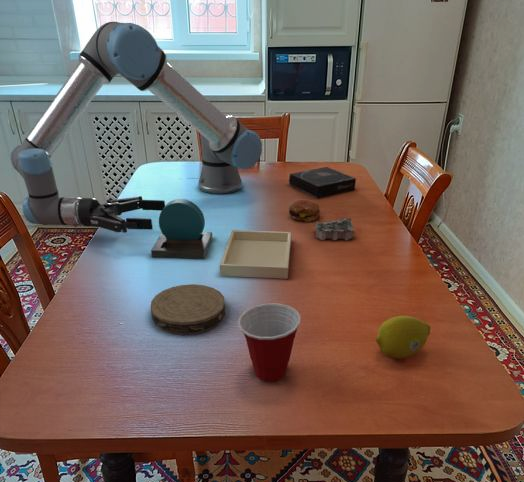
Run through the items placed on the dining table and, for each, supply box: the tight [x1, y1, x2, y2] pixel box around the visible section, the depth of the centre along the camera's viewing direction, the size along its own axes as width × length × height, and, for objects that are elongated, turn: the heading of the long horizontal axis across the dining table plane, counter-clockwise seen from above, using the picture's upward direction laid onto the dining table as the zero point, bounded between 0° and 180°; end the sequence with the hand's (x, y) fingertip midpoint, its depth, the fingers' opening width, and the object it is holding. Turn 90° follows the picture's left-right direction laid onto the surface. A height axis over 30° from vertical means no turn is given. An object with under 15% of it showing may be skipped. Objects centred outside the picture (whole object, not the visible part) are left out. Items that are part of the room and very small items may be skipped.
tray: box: [219, 229, 292, 280], centre depth 128 cm, size 22×17×3 cm
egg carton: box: [315, 217, 355, 241], centre depth 139 cm, size 11×8×4 cm
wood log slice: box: [150, 283, 227, 336], centre depth 105 cm, size 16×16×3 cm
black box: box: [288, 166, 357, 199], centre depth 173 cm, size 16×17×4 cm
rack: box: [150, 231, 213, 260], centre depth 133 cm, size 14×13×2 cm
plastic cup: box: [237, 302, 302, 383], centre depth 87 cm, size 11×11×12 cm
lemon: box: [375, 315, 431, 360], centre depth 92 cm, size 11×8×8 cm
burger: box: [288, 198, 321, 223], centre depth 150 cm, size 10×9×5 cm
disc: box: [158, 198, 206, 240], centre depth 132 cm, size 12×3×12 cm, turn 85°
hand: (158, 214), depth 132 cm, fingers open, 13 cm apart
